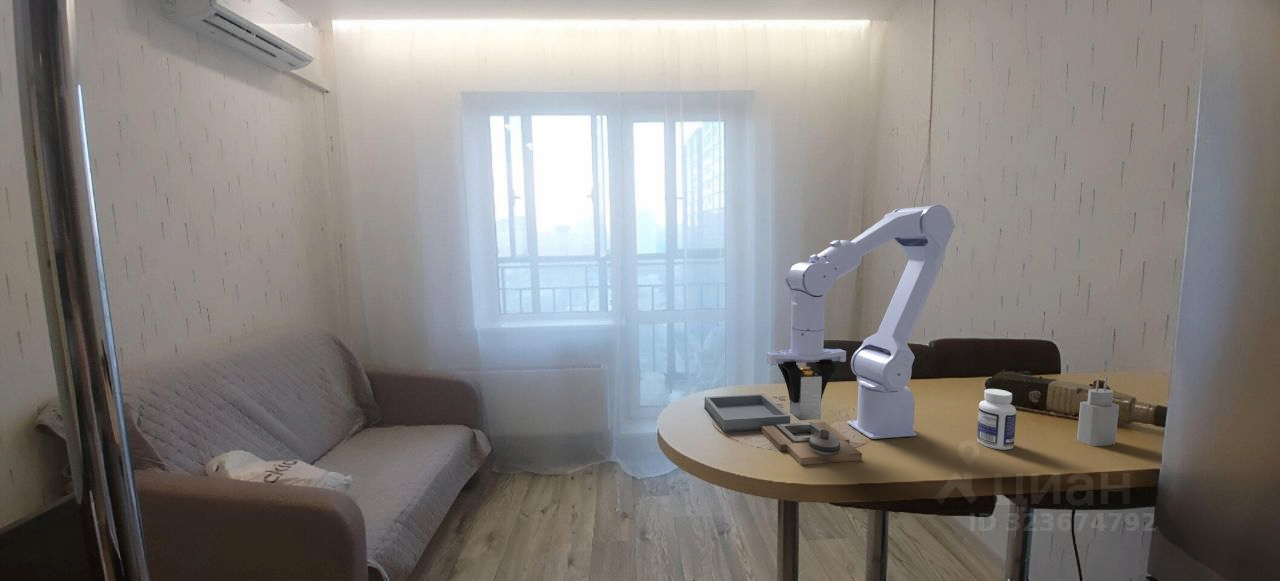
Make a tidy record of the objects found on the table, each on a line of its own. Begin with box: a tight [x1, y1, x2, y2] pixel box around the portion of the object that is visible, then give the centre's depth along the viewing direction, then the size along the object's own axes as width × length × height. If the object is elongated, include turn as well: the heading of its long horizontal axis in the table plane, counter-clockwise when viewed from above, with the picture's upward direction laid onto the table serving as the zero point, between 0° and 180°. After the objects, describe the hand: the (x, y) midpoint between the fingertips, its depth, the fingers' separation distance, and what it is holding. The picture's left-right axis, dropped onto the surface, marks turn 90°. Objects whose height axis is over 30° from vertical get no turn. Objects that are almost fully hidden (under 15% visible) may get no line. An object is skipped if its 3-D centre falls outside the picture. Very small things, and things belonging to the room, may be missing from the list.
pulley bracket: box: [760, 421, 863, 465], centre depth 85 cm, size 13×14×4 cm
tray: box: [703, 393, 791, 433], centre depth 99 cm, size 14×14×2 cm
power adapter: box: [1076, 377, 1120, 447], centre depth 85 cm, size 3×5×12 cm, turn 101°
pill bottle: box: [976, 388, 1017, 451], centre depth 85 cm, size 5×5×10 cm
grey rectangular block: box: [789, 365, 822, 421], centre depth 87 cm, size 4×4×9 cm
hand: (805, 400), depth 87 cm, fingers closed on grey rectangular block, 4 cm apart
